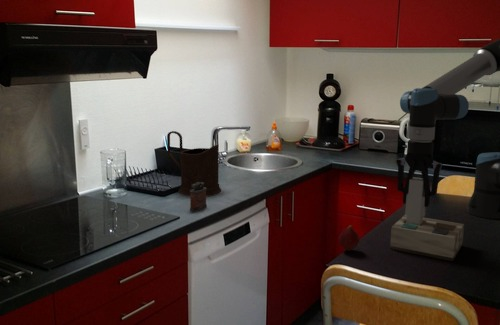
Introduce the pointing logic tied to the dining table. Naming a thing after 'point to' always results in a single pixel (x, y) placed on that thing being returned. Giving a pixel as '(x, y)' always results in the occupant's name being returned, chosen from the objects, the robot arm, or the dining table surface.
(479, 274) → the dining table surface
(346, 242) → the onion
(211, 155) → the dark brown mug
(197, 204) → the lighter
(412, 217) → the plug
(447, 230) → the socket board
